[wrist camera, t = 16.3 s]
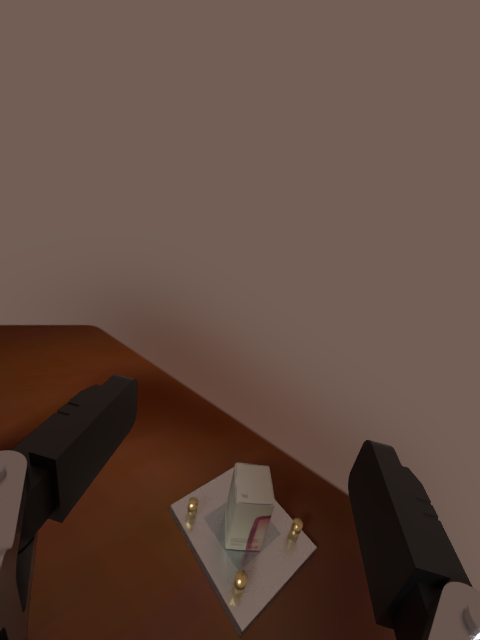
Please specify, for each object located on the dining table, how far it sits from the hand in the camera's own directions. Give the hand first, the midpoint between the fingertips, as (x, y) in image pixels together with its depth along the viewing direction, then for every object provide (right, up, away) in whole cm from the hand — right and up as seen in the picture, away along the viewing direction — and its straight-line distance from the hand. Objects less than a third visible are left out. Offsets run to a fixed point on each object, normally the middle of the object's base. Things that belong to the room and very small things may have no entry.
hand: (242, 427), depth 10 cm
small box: (0, -22, +25) cm, 33 cm away
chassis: (0, -23, +25) cm, 34 cm away
